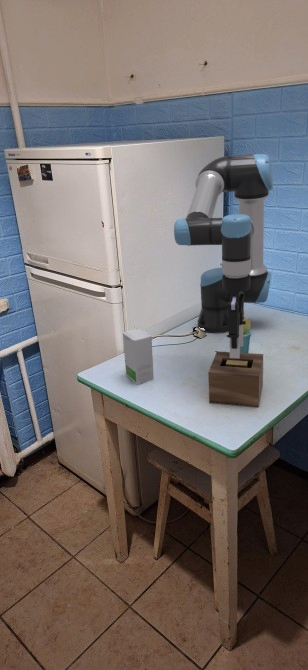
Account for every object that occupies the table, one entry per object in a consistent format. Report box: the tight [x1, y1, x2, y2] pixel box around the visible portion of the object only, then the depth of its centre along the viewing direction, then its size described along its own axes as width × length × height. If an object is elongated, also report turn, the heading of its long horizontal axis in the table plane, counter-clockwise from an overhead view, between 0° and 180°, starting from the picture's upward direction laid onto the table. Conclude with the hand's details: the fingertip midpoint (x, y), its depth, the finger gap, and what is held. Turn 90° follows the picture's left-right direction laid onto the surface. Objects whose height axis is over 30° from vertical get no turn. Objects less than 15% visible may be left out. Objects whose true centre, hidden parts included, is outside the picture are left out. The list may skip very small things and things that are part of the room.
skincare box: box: [122, 327, 154, 385], centre depth 151 cm, size 8×7×16 cm
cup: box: [240, 317, 252, 353], centre depth 156 cm, size 14×8×15 cm, turn 150°
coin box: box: [207, 351, 264, 408], centre depth 138 cm, size 14×14×10 cm
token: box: [226, 360, 248, 368], centre depth 138 cm, size 3×6×9 cm, turn 73°
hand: (236, 351), depth 135 cm, fingers open, 7 cm apart
